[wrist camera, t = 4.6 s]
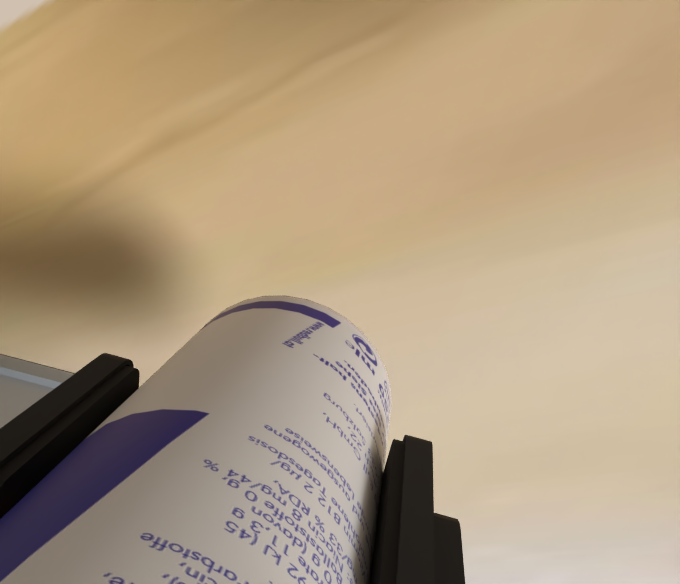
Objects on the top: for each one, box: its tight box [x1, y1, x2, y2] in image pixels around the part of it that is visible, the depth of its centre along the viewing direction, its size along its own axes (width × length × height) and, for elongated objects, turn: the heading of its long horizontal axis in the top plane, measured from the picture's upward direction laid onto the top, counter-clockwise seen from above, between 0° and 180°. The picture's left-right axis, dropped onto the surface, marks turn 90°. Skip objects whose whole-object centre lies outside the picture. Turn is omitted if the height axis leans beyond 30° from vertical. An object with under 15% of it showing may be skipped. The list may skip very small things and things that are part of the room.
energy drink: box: [0, 296, 391, 584], centre depth 8 cm, size 5×5×12 cm
